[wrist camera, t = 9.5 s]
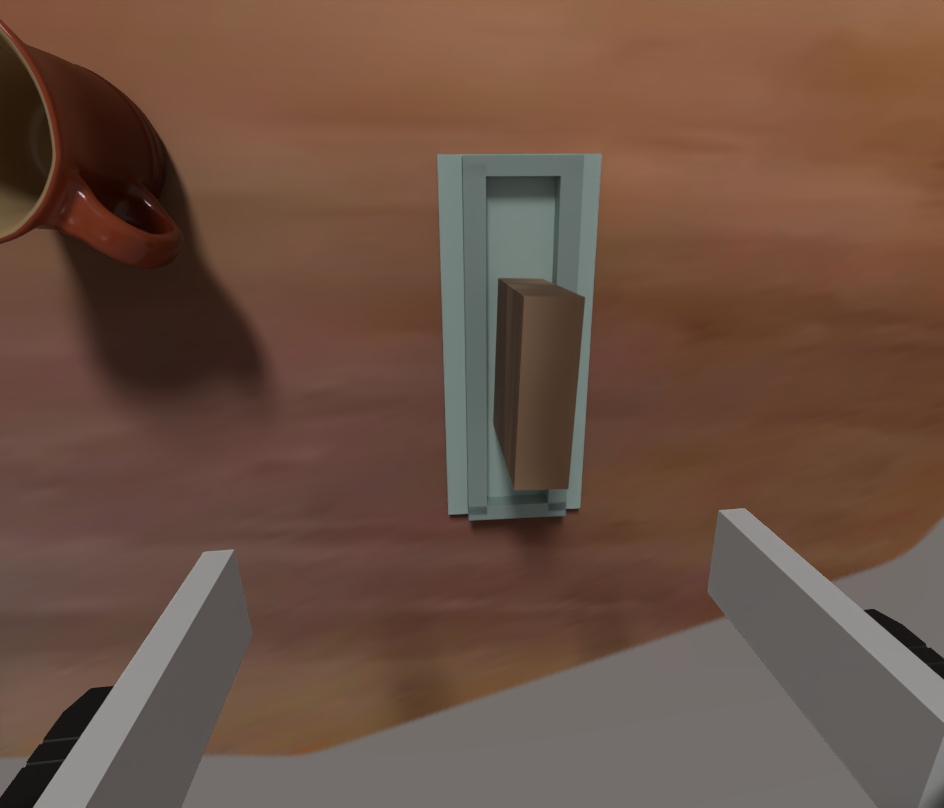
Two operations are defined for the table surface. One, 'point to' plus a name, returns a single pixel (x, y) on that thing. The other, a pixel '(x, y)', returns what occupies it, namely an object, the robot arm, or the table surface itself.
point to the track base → (475, 305)
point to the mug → (79, 159)
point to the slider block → (536, 380)
